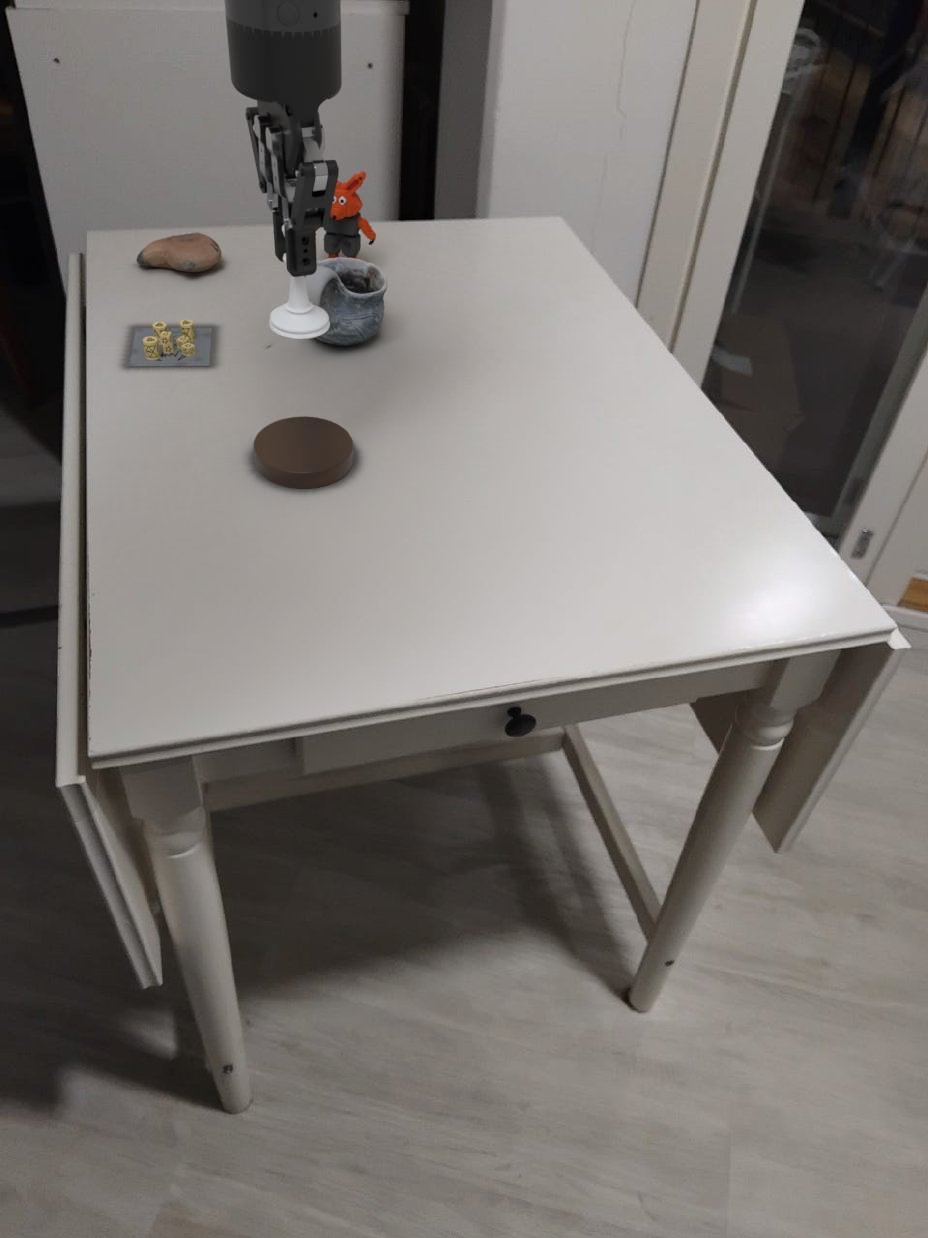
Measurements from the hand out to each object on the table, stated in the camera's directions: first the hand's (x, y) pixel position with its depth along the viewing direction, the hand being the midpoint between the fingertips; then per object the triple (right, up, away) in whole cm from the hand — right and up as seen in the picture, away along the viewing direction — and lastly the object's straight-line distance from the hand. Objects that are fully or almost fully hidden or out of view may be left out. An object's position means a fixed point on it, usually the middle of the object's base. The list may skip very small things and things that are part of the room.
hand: (295, 265), depth 74 cm
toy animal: (-2, +14, +41) cm, 43 cm away
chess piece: (0, -4, +4) cm, 5 cm away
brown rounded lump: (-21, +14, +39) cm, 47 cm away
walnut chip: (-2, -13, +14) cm, 19 cm away
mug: (0, +2, +29) cm, 29 cm away
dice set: (-18, +1, +26) cm, 32 cm away
